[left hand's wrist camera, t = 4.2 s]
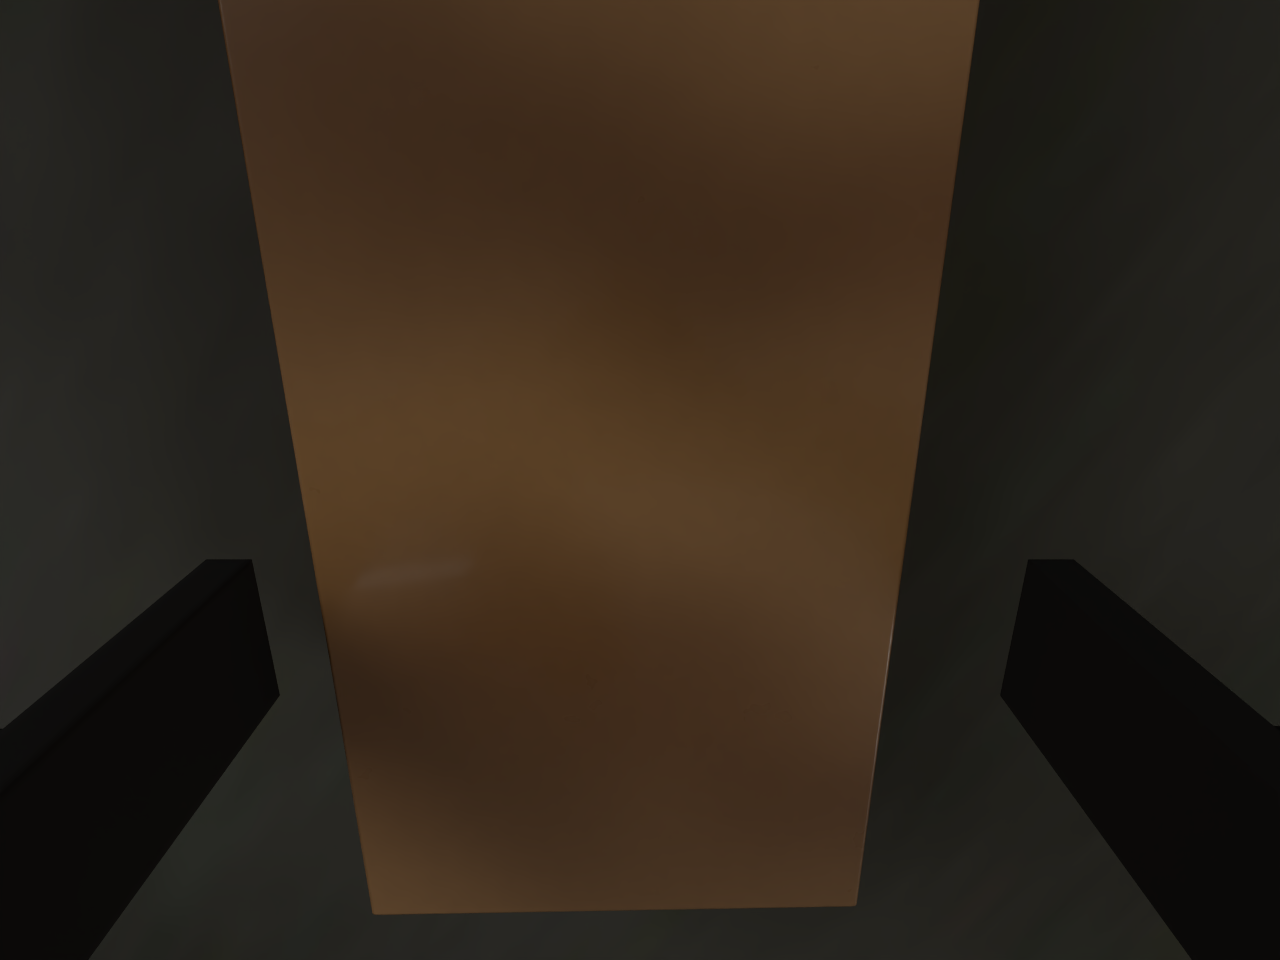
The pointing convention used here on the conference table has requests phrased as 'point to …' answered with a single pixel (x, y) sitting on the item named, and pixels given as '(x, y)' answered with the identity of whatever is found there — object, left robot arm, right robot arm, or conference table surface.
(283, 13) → the wide beam
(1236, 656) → the conference table surface
